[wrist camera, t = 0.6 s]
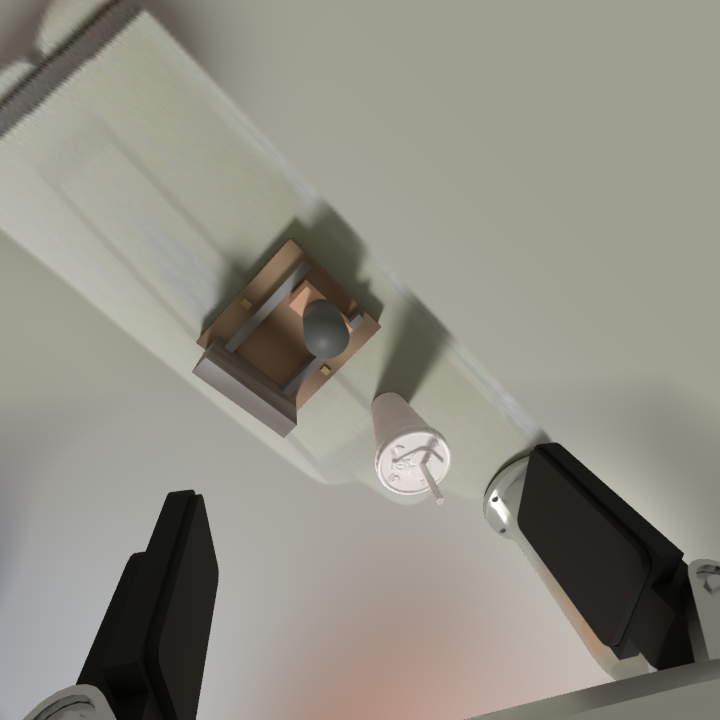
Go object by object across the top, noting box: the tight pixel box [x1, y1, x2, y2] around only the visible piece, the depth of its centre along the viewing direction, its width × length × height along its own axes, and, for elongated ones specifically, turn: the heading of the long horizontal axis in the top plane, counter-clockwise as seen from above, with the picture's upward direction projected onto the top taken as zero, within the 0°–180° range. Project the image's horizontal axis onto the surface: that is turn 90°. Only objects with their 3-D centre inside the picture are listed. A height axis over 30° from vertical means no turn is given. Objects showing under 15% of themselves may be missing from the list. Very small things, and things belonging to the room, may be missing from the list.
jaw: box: [289, 279, 353, 359], centre depth 29 cm, size 3×5×9 cm, turn 44°
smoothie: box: [371, 392, 451, 504], centre depth 34 cm, size 6×6×14 cm
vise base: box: [192, 238, 381, 438], centre depth 32 cm, size 12×11×6 cm
